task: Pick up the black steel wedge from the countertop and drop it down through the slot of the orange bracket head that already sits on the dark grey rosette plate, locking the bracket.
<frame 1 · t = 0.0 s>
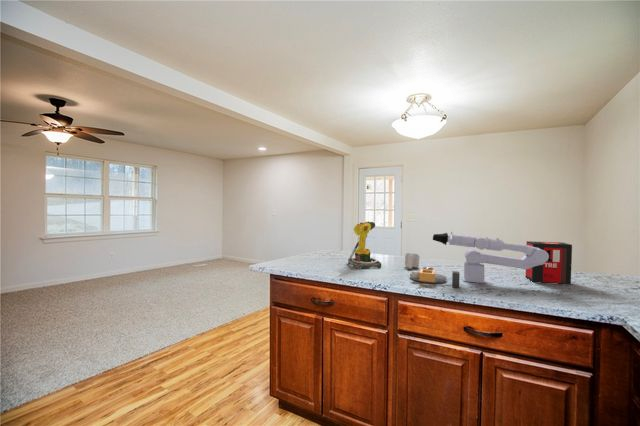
hand: (433, 237, 163), 22 cm above the table, tool horizontal, fingers open, 7 cm apart
bracket: (427, 282, 152), resting on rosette
cleaning product box: (547, 281, 155), on the table
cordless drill: (365, 265, 193), on the table
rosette: (427, 279, 159), on the table
wedge: (455, 286, 145), on the table
grey rounded block: (410, 268, 185), on the table
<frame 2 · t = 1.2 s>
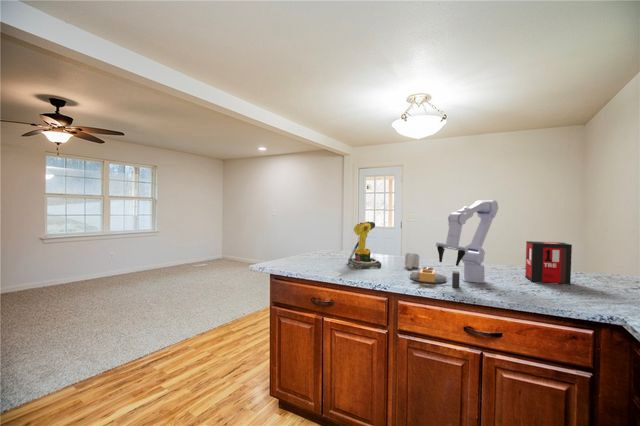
hand: (448, 263, 146), 11 cm above the table, tool pointing down, fingers open, 7 cm apart
nothing on the table moved.
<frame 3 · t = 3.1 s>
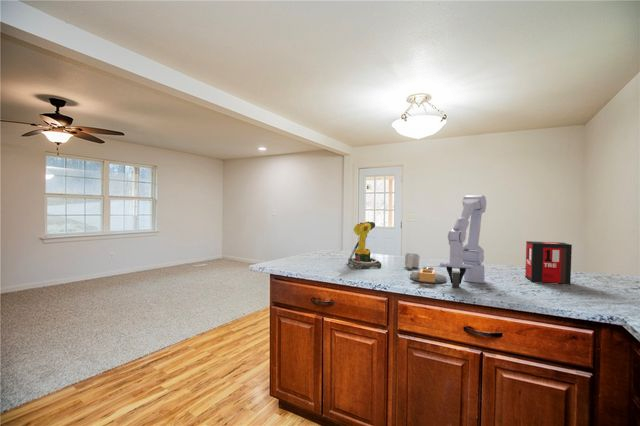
hand: (455, 283, 145), 2 cm above the table, tool pointing down, fingers closed on wedge, 3 cm apart
wedge: (455, 286, 145), on the table, touching gripper
everything else where it was.
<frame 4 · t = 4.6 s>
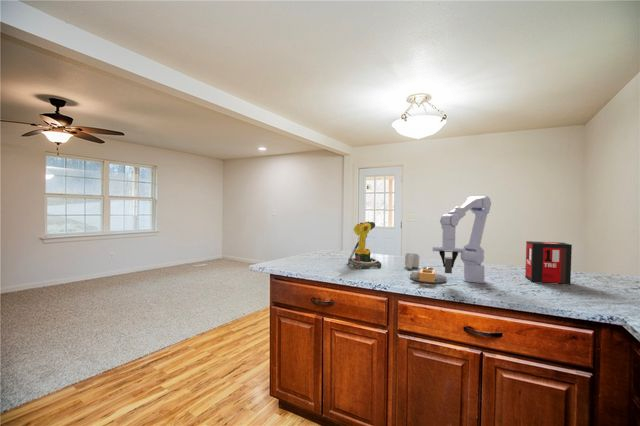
hand: (448, 266, 146), 9 cm above the table, tool pointing down, fingers closed on wedge, 3 cm apart
wedge: (448, 272, 146), point 7 cm above the table, touching gripper
everything else where it was.
when the fingers open (6 cm above the table, at t = 6.3 s): wedge drops 1 cm, resting on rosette.
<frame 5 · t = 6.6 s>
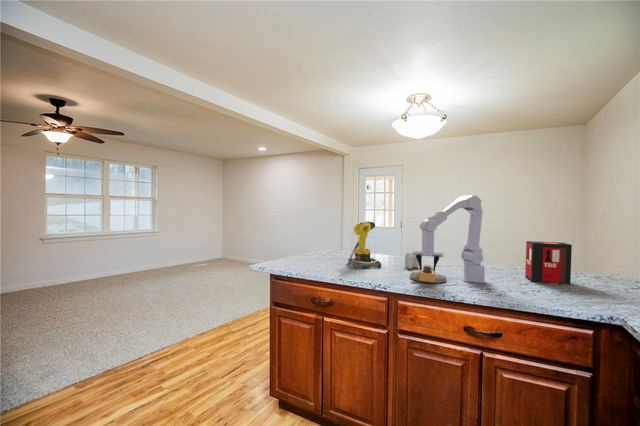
hand: (427, 270, 152), 6 cm above the table, tool pointing down, fingers open, 6 cm apart
wedge: (427, 279, 152), point 2 cm above the table, touching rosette
everything else where it was.
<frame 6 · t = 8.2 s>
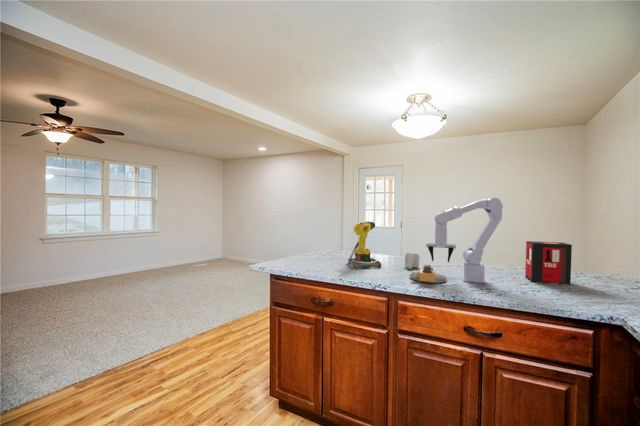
hand: (440, 261, 159), 9 cm above the table, tool pointing down, fingers open, 7 cm apart
nothing on the table moved.
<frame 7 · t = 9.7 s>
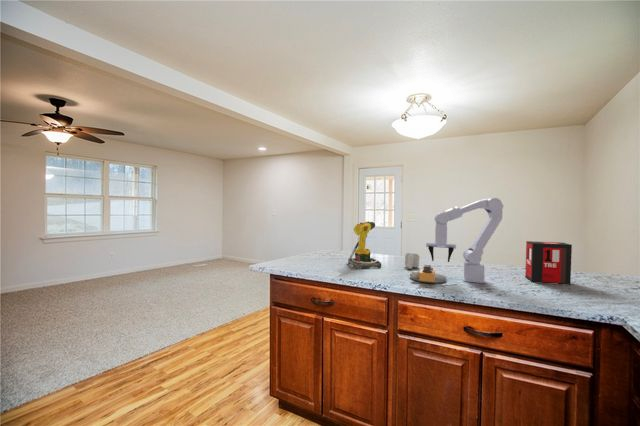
hand: (440, 261, 159), 9 cm above the table, tool pointing down, fingers open, 7 cm apart
nothing on the table moved.
at the end: wedge 0.5 cm off-centre on the bracket, point 1.5 cm above the bracket's base; wedge tilted 0°; the gripper is holding nothing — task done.
